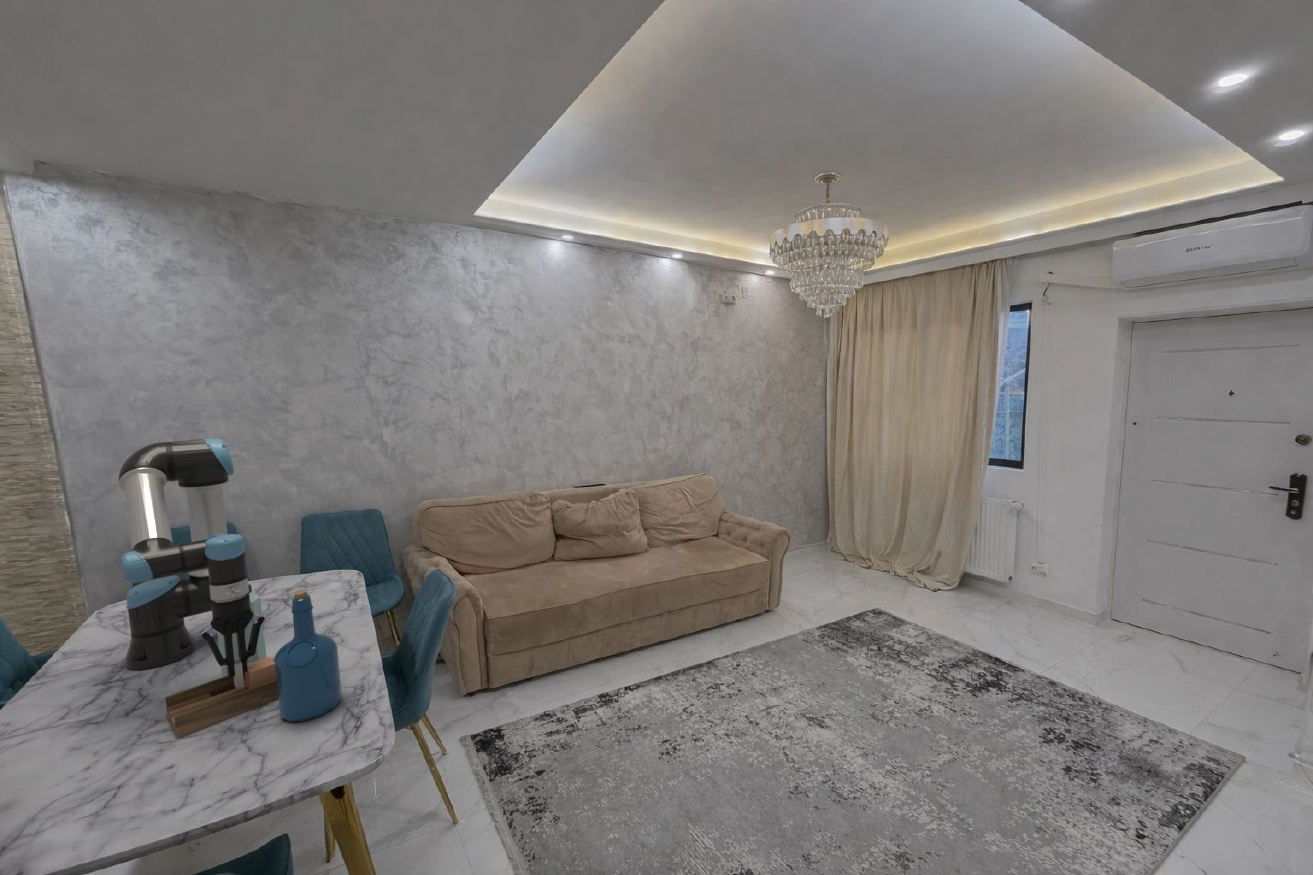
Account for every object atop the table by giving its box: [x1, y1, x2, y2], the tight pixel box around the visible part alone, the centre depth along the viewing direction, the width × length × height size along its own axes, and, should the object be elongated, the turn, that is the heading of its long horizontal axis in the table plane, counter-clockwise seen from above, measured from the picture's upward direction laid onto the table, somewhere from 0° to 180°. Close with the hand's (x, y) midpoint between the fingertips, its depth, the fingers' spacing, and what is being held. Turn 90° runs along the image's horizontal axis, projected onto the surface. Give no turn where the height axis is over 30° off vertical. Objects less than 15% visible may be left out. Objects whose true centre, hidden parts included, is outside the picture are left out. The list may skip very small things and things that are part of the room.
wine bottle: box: [273, 590, 342, 723], centre depth 131 cm, size 14×13×30 cm
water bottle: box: [216, 583, 267, 677], centre depth 147 cm, size 10×10×25 cm
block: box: [245, 656, 276, 689], centre depth 138 cm, size 6×6×6 cm
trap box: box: [164, 659, 278, 739], centre depth 137 cm, size 13×30×6 cm, turn 140°
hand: (239, 686), depth 135 cm, fingers closed
